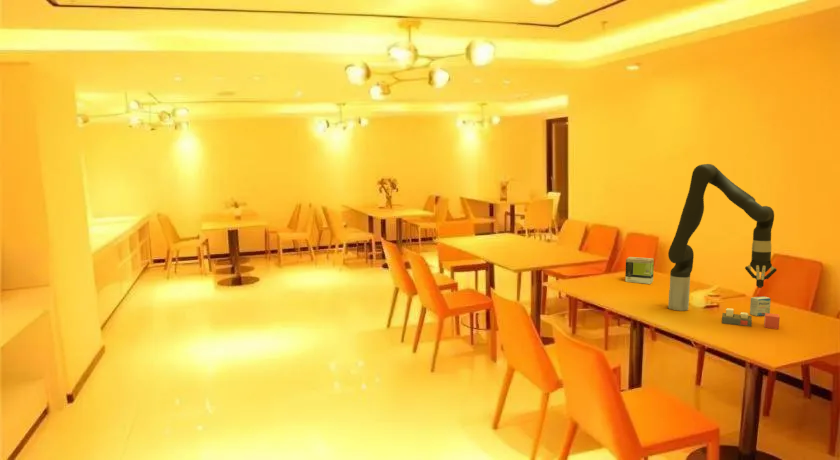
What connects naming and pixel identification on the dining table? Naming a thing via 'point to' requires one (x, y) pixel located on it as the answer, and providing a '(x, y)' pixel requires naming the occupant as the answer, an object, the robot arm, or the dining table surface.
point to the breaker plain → (729, 312)
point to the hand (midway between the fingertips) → (759, 287)
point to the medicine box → (760, 306)
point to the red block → (771, 321)
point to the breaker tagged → (744, 315)
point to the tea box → (639, 270)
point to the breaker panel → (736, 320)
